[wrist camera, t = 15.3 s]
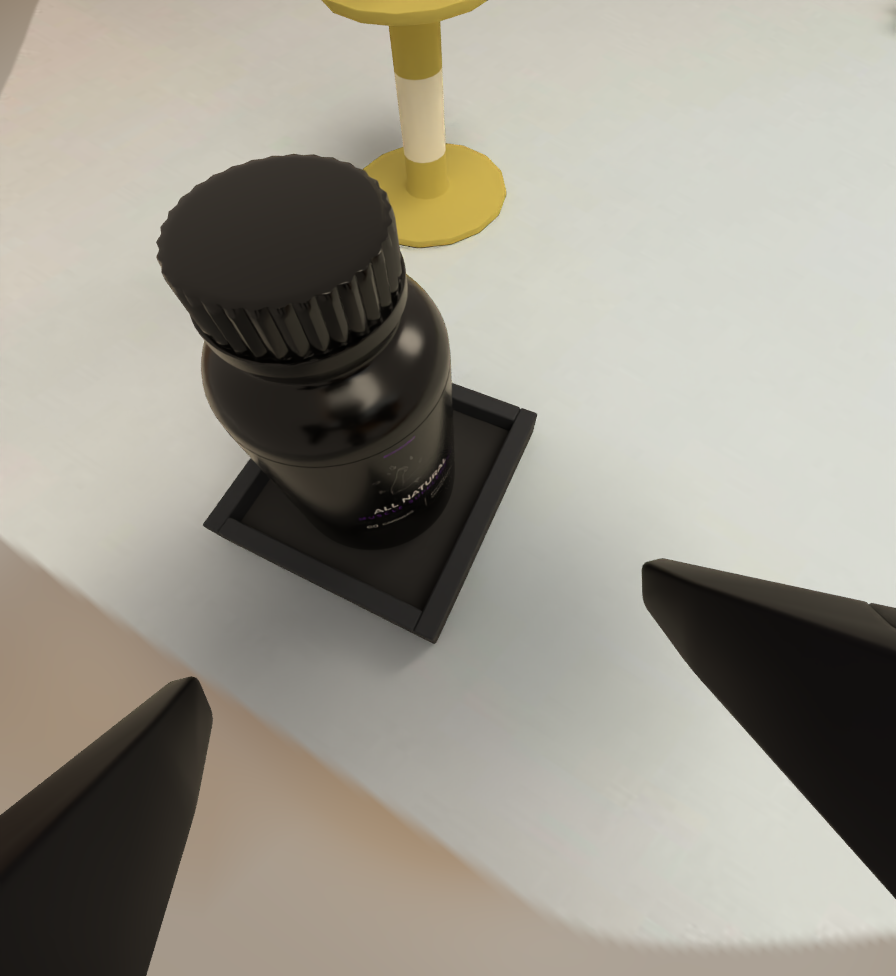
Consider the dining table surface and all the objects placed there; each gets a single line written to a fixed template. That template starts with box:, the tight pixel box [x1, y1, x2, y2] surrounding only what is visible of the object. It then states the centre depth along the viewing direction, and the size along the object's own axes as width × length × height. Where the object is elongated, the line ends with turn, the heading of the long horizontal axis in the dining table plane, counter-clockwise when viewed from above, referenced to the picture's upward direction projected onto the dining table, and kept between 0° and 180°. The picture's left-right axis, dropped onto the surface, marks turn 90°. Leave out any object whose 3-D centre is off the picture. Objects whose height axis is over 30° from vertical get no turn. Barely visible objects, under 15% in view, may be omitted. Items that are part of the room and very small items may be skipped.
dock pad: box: [203, 383, 537, 644], centre depth 20 cm, size 11×11×2 cm
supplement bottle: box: [156, 154, 455, 550], centre depth 14 cm, size 7×7×12 cm
